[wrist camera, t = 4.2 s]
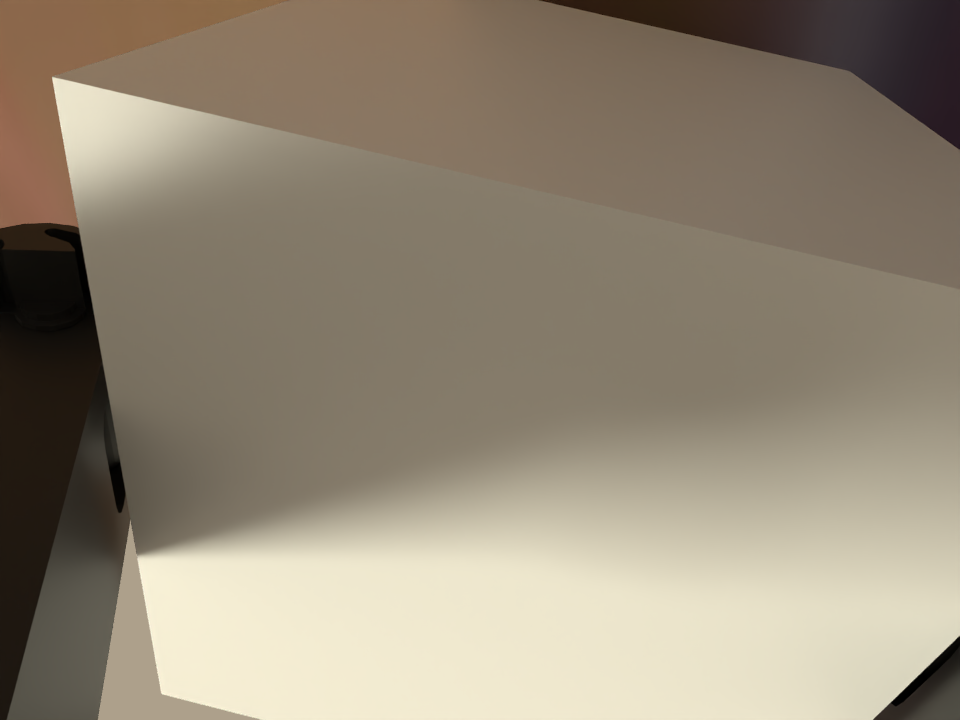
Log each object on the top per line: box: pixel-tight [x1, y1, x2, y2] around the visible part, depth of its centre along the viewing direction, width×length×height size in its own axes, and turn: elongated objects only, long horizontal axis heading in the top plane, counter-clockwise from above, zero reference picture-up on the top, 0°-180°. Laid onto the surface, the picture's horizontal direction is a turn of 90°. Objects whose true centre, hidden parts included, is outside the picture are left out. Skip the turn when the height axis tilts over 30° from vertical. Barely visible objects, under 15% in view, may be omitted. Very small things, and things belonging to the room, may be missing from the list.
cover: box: [52, 0, 960, 720], centre depth 11 cm, size 8×8×9 cm
